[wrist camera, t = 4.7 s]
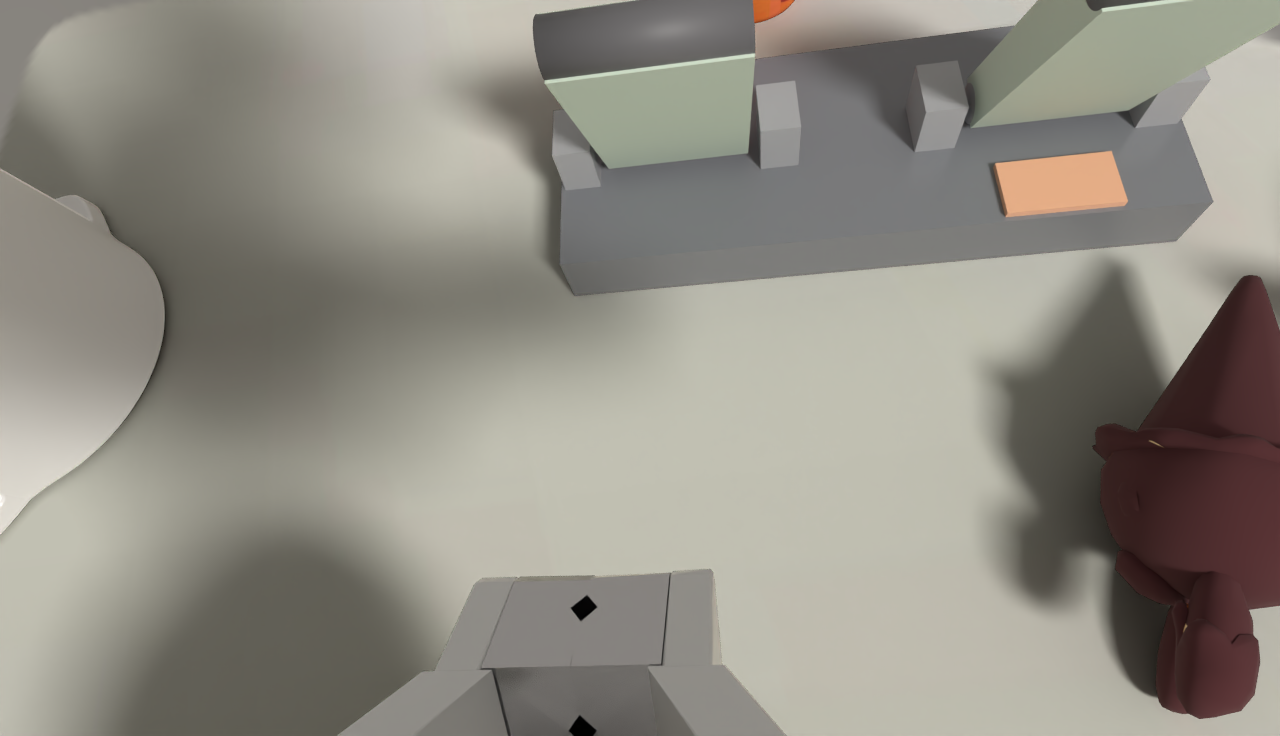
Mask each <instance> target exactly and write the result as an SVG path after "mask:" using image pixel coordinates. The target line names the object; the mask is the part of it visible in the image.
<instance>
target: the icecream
mask: <svg viewBox="0 0 1280 736" xmlns="http://www.w3.org/2000/svg"><path fill="white" fill-rule="evenodd" d="M1095 437H1096V445H1094V446H1092V447H1093V449H1094V450H1095V451H1096V452H1097V453H1098V454H1099V455H1100V456H1101V457H1102V458H1103V459H1104V460H1105V461H1107V462H1106V463H1105V465H1104V466H1103V468H1102V469H1101V497H1100V503H1101V506H1102V509H1103V512H1104V515H1105V518H1106V521H1107V524H1108V527H1109V530H1110V532H1111V535H1112V536H1113V538H1114V539H1115V541H1116V542H1117V544H1118V545H1119V546H1120V548H1121V549H1122V550H1120V551H1118V554H1117V560H1116V566H1115V570H1116V571H1117V572H1118V573H1119V574H1120V575H1121V576H1122V577H1123V578H1124V579H1125V580H1126V581H1127V582H1128V583H1129V584H1130V585H1131V586H1132V588H1133V589H1134V590H1135V591H1136V592H1137V593H1138V594H1141V595H1143V596H1145V597H1147V598H1149V599H1151V600H1153V601H1155V602H1157V603H1160V604H1166V605H1171V606H1170V609H1169V611H1168V614H1167V618H1166V622H1165V626H1164V630H1163V633H1162V637H1161V641H1160V645H1159V649H1158V658H1157V672H1156V689H1157V694H1158V699H1159V702H1160V704H1161V705H1162V707H1164V708H1166V709H1168V710H1170V711H1172V712H1176V713H1181V714H1190V715H1193V716H1195V717H1197V718H1199V719H1203V718H1212V717H1218V716H1222V715H1226V714H1230V713H1234V712H1239V711H1241V710H1242V709H1243V708H1244V707H1245V705H1246V704H1247V703H1248V702H1249V701H1250V699H1251V698H1252V697H1253V696H1254V694H1255V689H1256V683H1257V677H1258V672H1259V666H1260V654H1259V644H1258V640H1257V639H1256V638H1255V637H1254V636H1253V620H1252V617H1251V614H1250V612H1249V610H1250V609H1258V608H1265V607H1273V606H1280V330H1279V327H1278V324H1277V321H1276V318H1275V315H1274V312H1273V309H1272V306H1271V303H1270V300H1269V297H1268V294H1267V292H1266V289H1265V287H1264V284H1263V282H1262V280H1261V278H1260V277H1258V276H1253V275H1248V276H1244V277H1242V278H1241V279H1240V281H1239V282H1238V283H1237V285H1236V286H1235V287H1234V289H1233V290H1232V291H1231V293H1230V294H1229V296H1228V297H1227V299H1226V300H1225V302H1224V303H1223V305H1222V306H1221V308H1220V309H1219V311H1218V312H1217V314H1216V315H1215V317H1214V318H1213V320H1212V322H1211V323H1210V325H1209V326H1208V328H1207V329H1206V331H1205V332H1204V333H1203V335H1202V336H1201V338H1200V339H1199V341H1198V342H1197V344H1196V345H1195V347H1194V348H1193V350H1192V351H1191V353H1190V354H1189V356H1188V357H1187V358H1186V360H1185V361H1184V363H1183V364H1182V366H1181V367H1180V369H1179V370H1178V372H1177V373H1176V375H1175V376H1174V378H1173V379H1172V381H1171V382H1170V384H1169V385H1168V386H1167V388H1166V389H1165V391H1164V392H1163V394H1162V395H1161V397H1160V398H1159V400H1158V401H1157V403H1156V404H1155V406H1154V407H1153V409H1152V410H1151V411H1150V413H1149V414H1148V416H1147V417H1146V419H1145V420H1144V422H1143V423H1142V425H1141V426H1140V428H1139V429H1138V431H1137V432H1136V431H1133V430H1131V429H1128V428H1126V427H1123V426H1121V425H1118V424H1115V423H1114V424H1106V425H1103V426H1100V427H1098V428H1097V430H1096V432H1095Z"/></svg>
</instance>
